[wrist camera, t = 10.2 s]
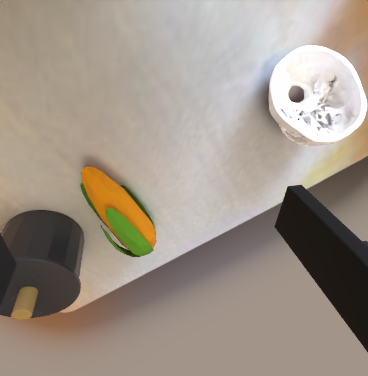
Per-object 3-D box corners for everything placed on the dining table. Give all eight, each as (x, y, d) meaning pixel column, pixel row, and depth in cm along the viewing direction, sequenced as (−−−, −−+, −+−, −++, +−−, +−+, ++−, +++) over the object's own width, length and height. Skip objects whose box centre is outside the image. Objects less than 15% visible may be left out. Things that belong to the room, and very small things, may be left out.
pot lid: (-46, 261, 31) (-68, 295, 27) (70, 245, 34) (64, 274, 30) (-3, 317, 39) (-15, 350, 35) (88, 301, 42) (86, 329, 38)
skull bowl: (288, 161, 44) (316, 166, 32) (244, 96, 43) (255, 76, 31) (343, 125, 42) (394, 116, 30) (297, 56, 41) (331, 18, 29)
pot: (-10, 215, 39) (-42, 267, 31) (75, 205, 42) (66, 251, 34) (18, 266, 46) (-2, 319, 38) (89, 255, 49) (84, 303, 41)
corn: (132, 276, 43) (52, 198, 31) (127, 245, 49) (59, 169, 37) (170, 256, 43) (105, 170, 31) (161, 227, 49) (103, 145, 37)
